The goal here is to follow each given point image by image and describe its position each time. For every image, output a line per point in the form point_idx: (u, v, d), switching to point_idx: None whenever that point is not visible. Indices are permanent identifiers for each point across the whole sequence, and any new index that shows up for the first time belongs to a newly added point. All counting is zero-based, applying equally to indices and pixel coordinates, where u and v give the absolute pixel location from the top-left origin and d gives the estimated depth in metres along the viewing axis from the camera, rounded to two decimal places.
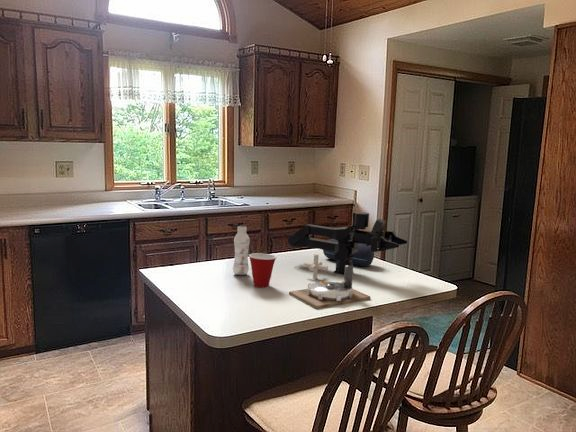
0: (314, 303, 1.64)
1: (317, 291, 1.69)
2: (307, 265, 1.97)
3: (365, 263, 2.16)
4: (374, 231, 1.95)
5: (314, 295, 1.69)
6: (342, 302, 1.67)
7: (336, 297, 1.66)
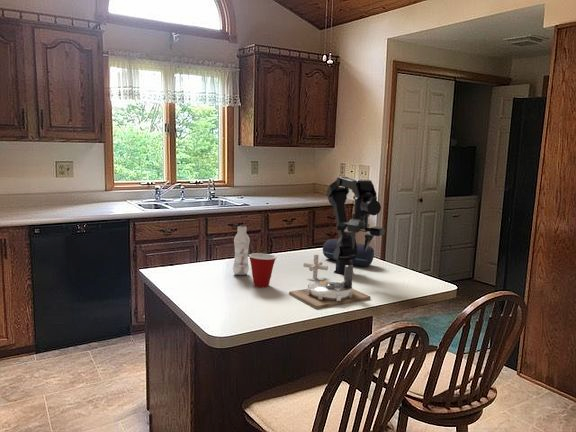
0: (314, 303, 1.64)
1: (317, 291, 1.69)
2: (307, 265, 1.97)
3: (365, 263, 2.16)
4: None
5: (314, 295, 1.69)
6: (342, 302, 1.67)
7: (336, 297, 1.66)
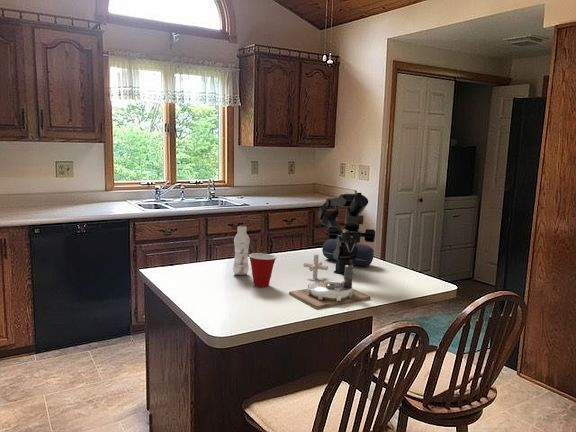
0: (314, 303, 1.64)
1: (317, 291, 1.69)
2: (307, 265, 1.97)
3: (365, 263, 2.16)
4: None
5: (314, 295, 1.69)
6: (342, 302, 1.67)
7: (336, 297, 1.66)
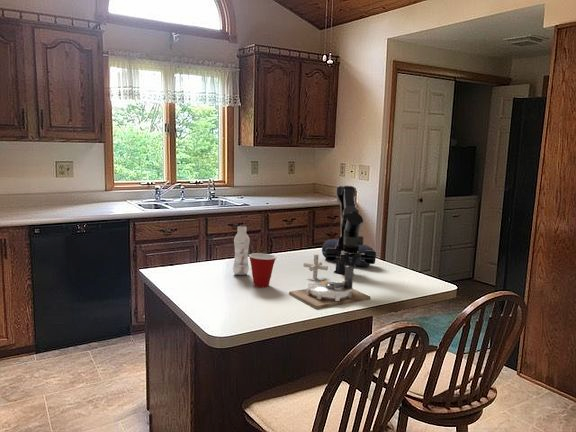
0: (314, 303, 1.64)
1: (316, 291, 1.69)
2: (307, 265, 1.97)
3: (364, 263, 2.16)
4: (344, 243, 1.81)
5: (313, 295, 1.69)
6: (342, 302, 1.67)
7: (335, 297, 1.66)
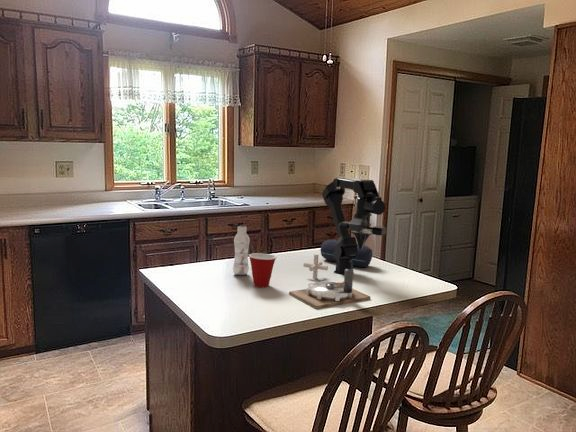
0: (314, 303, 1.64)
1: (310, 286, 1.74)
2: (307, 265, 1.97)
3: (363, 264, 2.15)
4: None
5: None
6: (342, 302, 1.67)
7: None
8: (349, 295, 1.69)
